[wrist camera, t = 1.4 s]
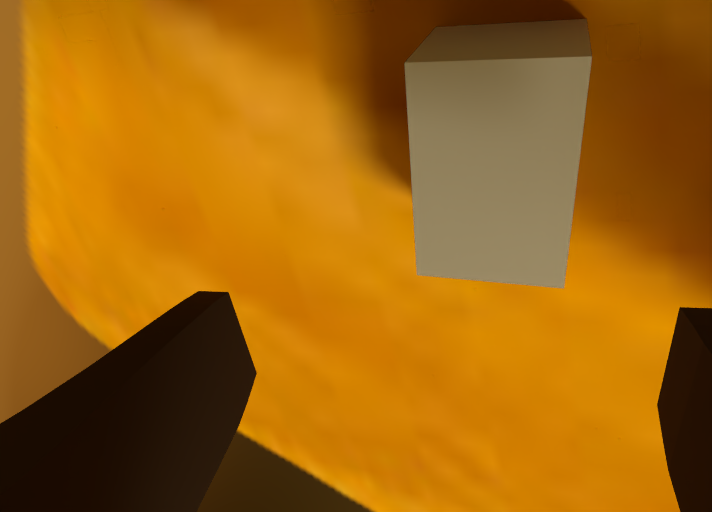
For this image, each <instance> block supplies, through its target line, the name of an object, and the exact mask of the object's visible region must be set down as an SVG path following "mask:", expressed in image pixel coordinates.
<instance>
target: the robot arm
mask: <svg viewBox="0 0 712 512" xmlns="http://www.w3.org/2000/svg"><path fill="white" fill-rule="evenodd" d="M256 374H257V373H256V370H255V367H254V364H253V361H252V358H251V356H250V353H249V350H248V347H247V344H246V341H245V338H244V336H243V333H242V330H241V327H240V324H239V321H238V318H237V316H236V313H235V310H234V307H233V304H232V301H231V298H230V295H229V293H228V292H208V291H198V292H196V293H195V294H193V295H192V296H190V297H188V298H187V299H185V300H183V301H182V302H180V303H179V304H177V305H176V306H174V307H173V308H171V309H170V310H169V311H167V312H166V313H164V314H163V315H161V316H160V317H159V318H157V319H156V320H154V321H153V322H151V323H150V324H149V325H147V326H146V327H144V328H143V329H142V330H140V331H139V332H137V333H136V334H135V335H133V336H132V337H130V338H129V339H127V340H126V341H125V342H123V343H122V344H120V345H119V346H117V347H116V348H115V349H113V350H112V351H110V352H109V353H108V354H106V355H105V356H103V357H102V358H100V359H99V360H98V361H96V362H95V363H93V364H92V365H90V366H89V367H88V368H86V369H85V370H83V371H81V372H80V373H79V374H77V375H76V376H74V377H73V378H71V379H70V380H68V381H66V382H65V383H63V384H62V385H60V386H59V387H57V388H56V389H54V390H53V391H51V392H50V393H48V394H47V395H45V396H44V397H42V398H41V399H39V400H37V401H36V402H34V403H33V404H32V405H30V406H28V407H27V408H25V409H24V410H22V411H21V412H19V413H17V414H15V415H14V416H12V417H11V418H9V419H7V420H6V421H4V422H2V423H1V424H0V512H196V511H197V510H198V508H199V506H200V503H201V502H202V500H203V498H204V496H205V494H206V492H207V490H208V487H209V485H210V483H211V482H212V480H213V478H214V476H215V474H216V471H217V470H218V468H219V465H220V464H221V461H222V459H223V457H224V455H225V453H226V451H227V449H228V447H229V445H230V443H231V441H232V439H233V437H234V435H235V433H236V430H237V428H238V426H239V424H240V421H241V418H242V416H243V413H244V410H245V407H246V405H247V402H248V399H249V396H250V392H251V389H252V386H253V383H254V380H255V377H256ZM657 406H658V412H659V419H660V425H661V431H662V438H663V443H664V449H665V455H666V460H667V466H668V471H669V474H670V478H671V481H672V485H673V488H674V492H675V495H676V498H677V502H678V505H679V508H680V512H712V308H683V307H680V309H679V313H678V317H677V321H676V326H675V330H674V334H673V339H672V343H671V347H670V352H669V356H668V360H667V365H666V369H665V373H664V378H663V382H662V386H661V391H660V395H659V399H658V404H657Z"/></svg>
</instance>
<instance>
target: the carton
mask: <svg viewBox="0 0 712 512" xmlns="http://www.w3.org/2000/svg"><path fill="white" fill-rule="evenodd" d="M591 61H592V52H591V45H590V39H589V32H588V25H587V19H572V20H553V21H535V22H517V23H499V24H480V25H462V26H444V27H435V29H434V30H433V31H432V32H431V33H430V34H429V35H428V36H427V38H426V39H425V40H424V41H423V42H422V43H421V44H420V46H419V47H418V48H417V49H416V50H415V51H414V52H413V54H412V55H411V56H410V57H409V58H408V59H407V60H406V61H405V63H404V65H405V82H406V99H407V115H408V132H409V149H410V166H411V183H412V200H413V216H414V233H415V250H416V267H417V275H422V276H433V277H444V278H455V279H466V280H477V281H488V282H499V283H510V284H521V285H532V286H543V287H554V288H564V283H565V275H566V267H567V259H568V250H569V242H570V234H571V226H572V218H573V209H574V201H575V193H576V185H577V176H578V168H579V160H580V152H581V143H582V135H583V127H584V119H585V111H586V102H587V94H588V86H589V78H590V69H591Z"/></svg>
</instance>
